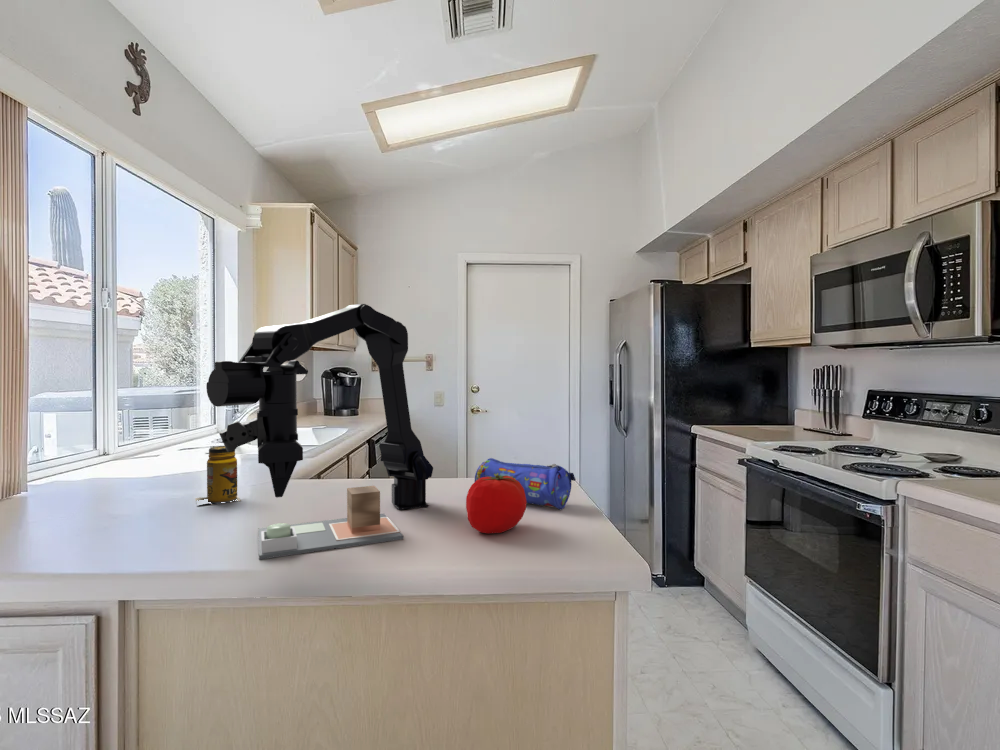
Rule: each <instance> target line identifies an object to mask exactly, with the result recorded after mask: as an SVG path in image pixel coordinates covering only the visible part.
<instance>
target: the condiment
mask: <svg viewBox="0 0 1000 750" xmlns="http://www.w3.org/2000/svg"><path fill="white" fill-rule="evenodd" d="M194 499H195V502H196V501H197V500H198V501H199V500H204V499H208V502H211V503H221V502H230V501H233V500H234V501H235V500H236V499H237V500H238V502H241V499H240V497H239V495H238V459H237V457H236V449H234V450H232V451H227V450H226V448H225V446H224V445H217V446H212V447H210V448H208V459H207V461H206V497H205V496H204V497H202V496H201V497H195V498H194ZM237 500H236V501H237ZM230 503H231V502H230Z"/></svg>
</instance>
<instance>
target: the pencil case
mask: <svg viewBox="0 0 1000 750" xmlns="http://www.w3.org/2000/svg"><path fill="white" fill-rule="evenodd" d="M484 475H485V476H484ZM496 475H500V476H510V477H512V478H514V479H516V480H517V481H519V482H520V484H521V485H522V487H523V488H524V492H525V496H526V501H527V503H526V504H529V505H536V506H542V507H543V506H544V507H551V508H555V509H558V510H560V509H561V510H563V509H564V508H565V507H566V505H567V502H568V501H569V498H570V496H571V491H572V481H575V482H576V481H577V480H576V477H575V474H574V472H569V471H568V470H567V469H566V468H564V467H563V466H561V465H558V464H556V463H553V464H547V465H543V464H541V465H540V464H531V463H515V462H514V463H513V462H504V461H500V460H498V459H495V458H492V457H489V458H487V459H486V460H485V461H483V462H482V463H481V464H480V465H479V466H477V469H476V471H475V475H474V482H476V481H477V480H478V479H479V478H482V477H487V476H491V477H496ZM500 476H499V477H500Z"/></svg>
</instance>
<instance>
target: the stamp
mask: <svg viewBox="0 0 1000 750" xmlns="http://www.w3.org/2000/svg"><path fill="white" fill-rule="evenodd" d="M380 514H381V491H380V489H379V488H377V487H376V486H375V485H367V486H366V485H365V486H356V487H348V488H346V515H347V516H346V518H347V526H348V528H349V530H350V531H351V533H352V534H353V533H360V532H368V531H376V530H380Z"/></svg>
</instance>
